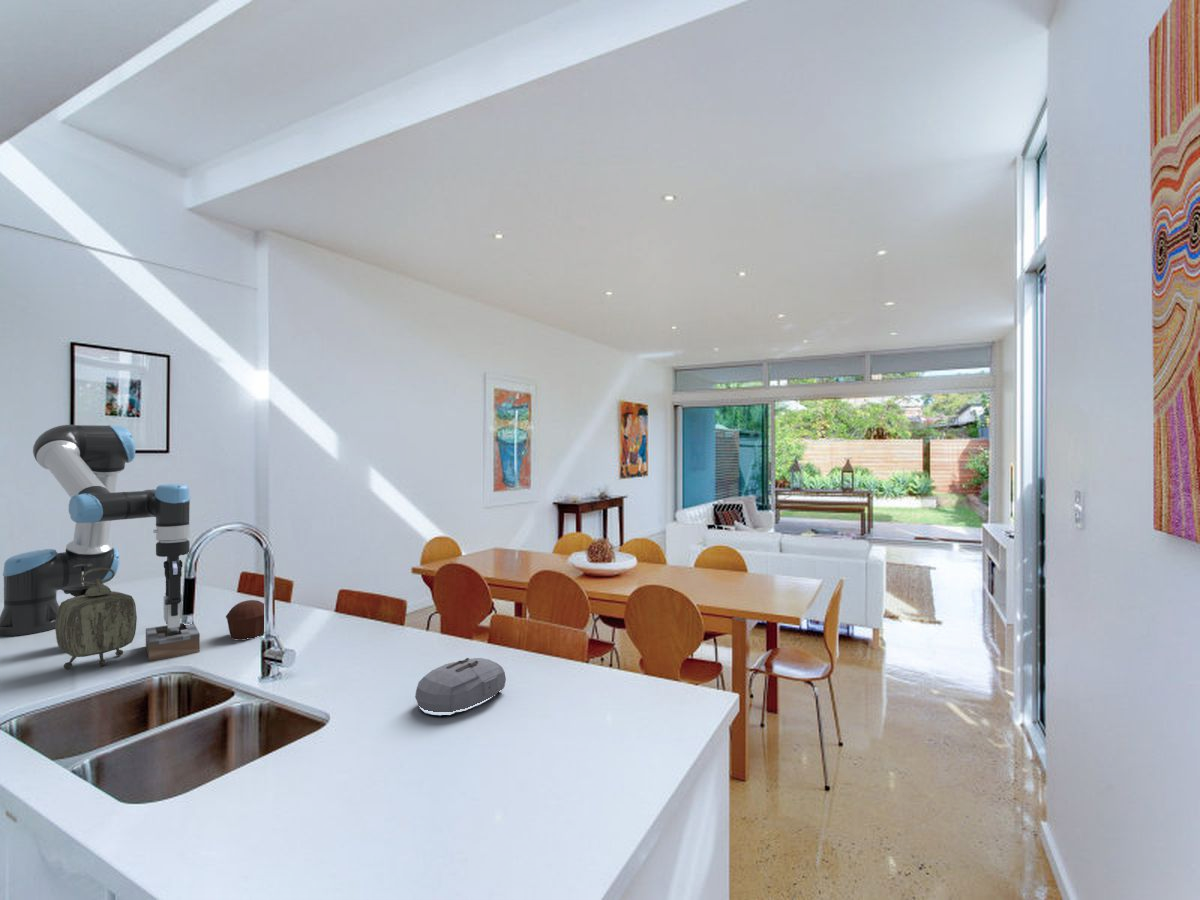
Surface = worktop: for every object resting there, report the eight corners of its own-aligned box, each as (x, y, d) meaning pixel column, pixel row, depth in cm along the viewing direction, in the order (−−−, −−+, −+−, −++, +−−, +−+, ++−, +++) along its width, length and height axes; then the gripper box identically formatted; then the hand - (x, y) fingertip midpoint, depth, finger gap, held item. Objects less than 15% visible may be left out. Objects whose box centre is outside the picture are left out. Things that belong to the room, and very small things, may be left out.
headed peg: (160, 646, 162) (160, 596, 162) (183, 642, 166) (183, 593, 166) (162, 651, 158) (162, 600, 158) (185, 647, 162) (185, 596, 162)
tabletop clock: (124, 652, 160) (124, 561, 160) (139, 659, 156) (139, 565, 155) (55, 670, 148) (55, 571, 148) (69, 677, 143) (69, 575, 143)
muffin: (254, 642, 170) (254, 607, 170) (216, 641, 170) (216, 607, 170) (277, 629, 181) (277, 596, 181) (242, 628, 182) (242, 596, 182)
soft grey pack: (470, 679, 144) (399, 708, 128) (470, 645, 144) (399, 670, 128) (514, 694, 135) (445, 728, 119) (514, 658, 135) (445, 687, 119)
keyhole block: (145, 646, 165) (145, 628, 165) (192, 638, 173) (192, 621, 172) (149, 661, 154) (149, 642, 154) (199, 651, 161) (199, 633, 161)
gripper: (153, 538, 166) (153, 620, 166) (158, 546, 153) (158, 635, 153) (186, 535, 171) (186, 615, 171) (193, 543, 158) (193, 629, 158)
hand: (173, 624), depth 162 cm, fingers closed on headed peg, 4 cm apart
